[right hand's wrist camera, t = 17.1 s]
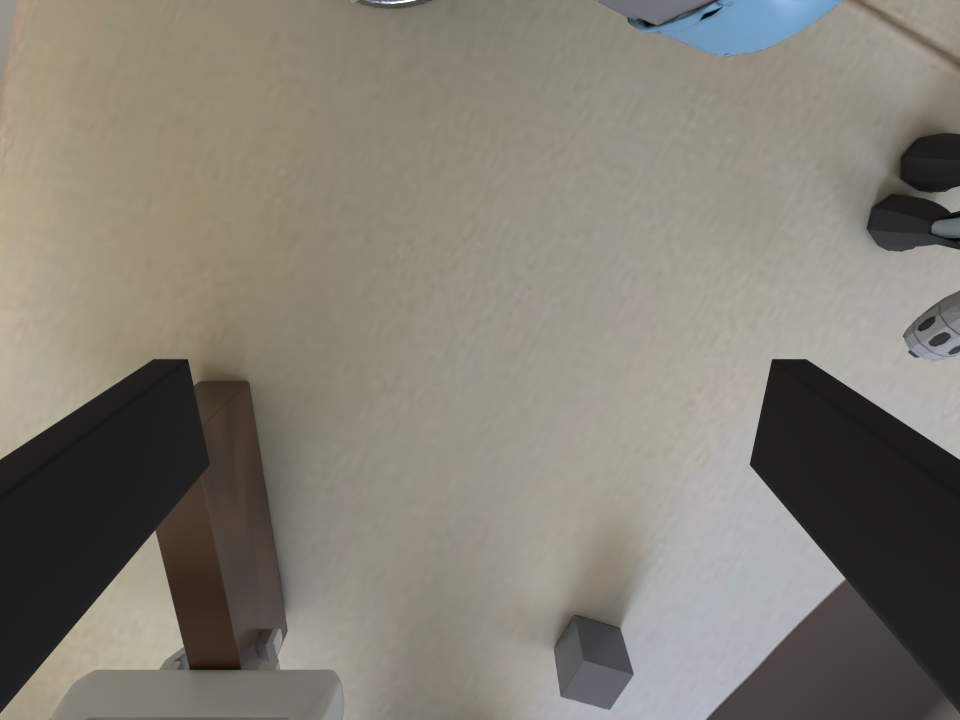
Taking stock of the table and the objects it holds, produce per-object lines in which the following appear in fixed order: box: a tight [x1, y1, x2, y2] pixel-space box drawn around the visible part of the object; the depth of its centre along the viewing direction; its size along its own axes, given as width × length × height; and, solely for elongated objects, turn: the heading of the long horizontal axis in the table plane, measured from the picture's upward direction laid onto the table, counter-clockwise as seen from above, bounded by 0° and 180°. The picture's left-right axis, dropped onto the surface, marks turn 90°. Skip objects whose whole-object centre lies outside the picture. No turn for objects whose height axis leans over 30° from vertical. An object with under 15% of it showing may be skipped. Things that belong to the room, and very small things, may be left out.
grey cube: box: [554, 615, 634, 710], centre depth 51 cm, size 5×5×5 cm
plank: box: [156, 382, 288, 670], centre depth 44 cm, size 26×4×9 cm, turn 0°
